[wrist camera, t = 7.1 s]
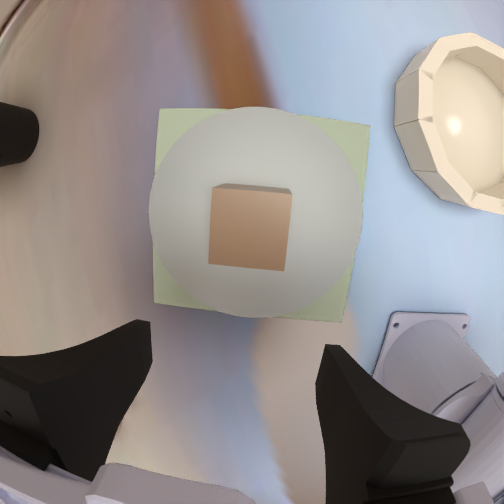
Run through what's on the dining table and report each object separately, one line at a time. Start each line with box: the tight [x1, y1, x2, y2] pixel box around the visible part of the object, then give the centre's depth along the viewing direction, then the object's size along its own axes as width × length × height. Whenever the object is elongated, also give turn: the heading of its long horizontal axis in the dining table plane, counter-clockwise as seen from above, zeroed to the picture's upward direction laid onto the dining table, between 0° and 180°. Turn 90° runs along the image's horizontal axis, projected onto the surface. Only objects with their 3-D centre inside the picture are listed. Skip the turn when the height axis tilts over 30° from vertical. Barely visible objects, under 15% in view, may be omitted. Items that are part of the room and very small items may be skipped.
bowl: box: [394, 33, 504, 215], centre depth 16 cm, size 12×12×4 cm
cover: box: [149, 107, 363, 318], centre depth 18 cm, size 14×14×5 cm
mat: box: [153, 108, 370, 322], centre depth 21 cm, size 14×14×1 cm
